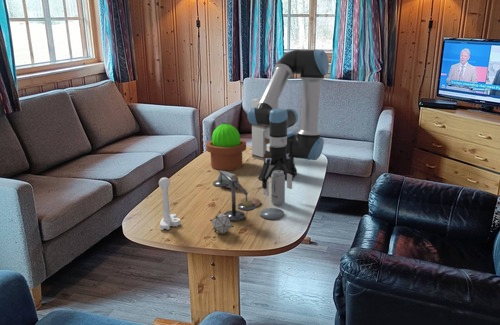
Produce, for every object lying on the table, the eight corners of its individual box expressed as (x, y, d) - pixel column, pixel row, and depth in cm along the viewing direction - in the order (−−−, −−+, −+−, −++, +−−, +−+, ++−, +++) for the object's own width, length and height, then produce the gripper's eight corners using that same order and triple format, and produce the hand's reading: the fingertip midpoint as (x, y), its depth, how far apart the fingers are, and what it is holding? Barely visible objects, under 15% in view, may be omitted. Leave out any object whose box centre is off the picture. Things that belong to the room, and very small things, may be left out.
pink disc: (251, 197, 209) (251, 195, 209) (265, 204, 201) (265, 202, 201) (233, 203, 203) (233, 200, 203) (247, 209, 196) (247, 207, 195)
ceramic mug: (231, 190, 218) (230, 175, 216) (217, 188, 222) (217, 173, 220) (243, 184, 227) (242, 170, 225) (229, 182, 231) (229, 167, 229)
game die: (220, 243, 174) (207, 229, 167) (215, 228, 180) (203, 214, 174) (240, 232, 173) (228, 218, 166) (235, 217, 179) (223, 202, 173)
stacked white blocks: (264, 160, 265) (264, 101, 255) (252, 157, 273) (251, 99, 263) (278, 157, 273) (278, 99, 262) (265, 153, 280) (265, 97, 270)
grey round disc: (273, 208, 197) (273, 206, 197) (289, 215, 189) (289, 213, 189) (255, 214, 191) (255, 211, 191) (270, 221, 183) (270, 219, 183)
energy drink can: (268, 202, 203) (268, 171, 199) (279, 200, 206) (279, 168, 202) (276, 207, 198) (276, 174, 194) (287, 204, 201) (287, 172, 197)
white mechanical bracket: (166, 218, 188) (162, 173, 182) (183, 219, 187) (181, 173, 181) (157, 230, 177) (154, 182, 171) (176, 231, 176) (173, 182, 171)
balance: (209, 210, 195) (207, 170, 190) (226, 205, 200) (225, 166, 195) (243, 230, 176) (242, 185, 171) (261, 224, 181) (260, 180, 176)
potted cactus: (232, 174, 242) (231, 128, 235) (199, 168, 253) (197, 124, 246) (253, 163, 260) (252, 121, 253) (222, 158, 271) (220, 117, 264)
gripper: (260, 152, 184) (261, 200, 190) (305, 142, 198) (304, 187, 205) (249, 148, 190) (250, 195, 196) (293, 139, 204) (293, 183, 210)
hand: (277, 191), depth 200 cm, fingers open, 13 cm apart
